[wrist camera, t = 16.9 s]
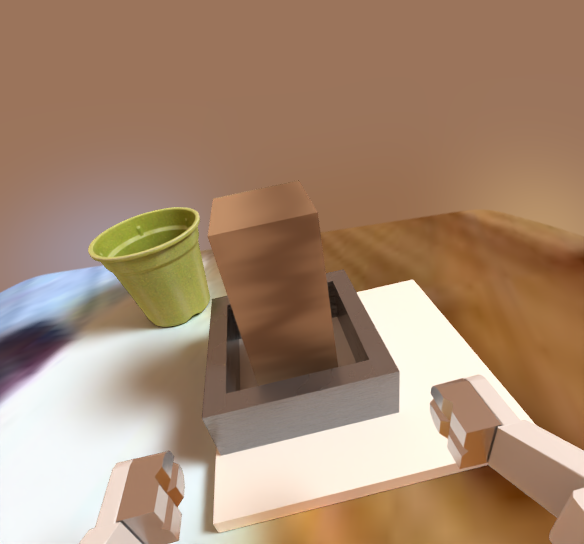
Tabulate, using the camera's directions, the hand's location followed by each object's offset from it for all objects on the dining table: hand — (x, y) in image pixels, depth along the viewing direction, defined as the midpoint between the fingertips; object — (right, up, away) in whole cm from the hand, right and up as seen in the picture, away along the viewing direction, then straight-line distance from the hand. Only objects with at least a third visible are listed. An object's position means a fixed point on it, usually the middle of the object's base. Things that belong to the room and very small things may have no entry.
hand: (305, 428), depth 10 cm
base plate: (+3, -2, +13) cm, 14 cm away
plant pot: (-12, +1, +23) cm, 26 cm away
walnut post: (0, -2, +13) cm, 13 cm away
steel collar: (0, -3, +14) cm, 14 cm away
